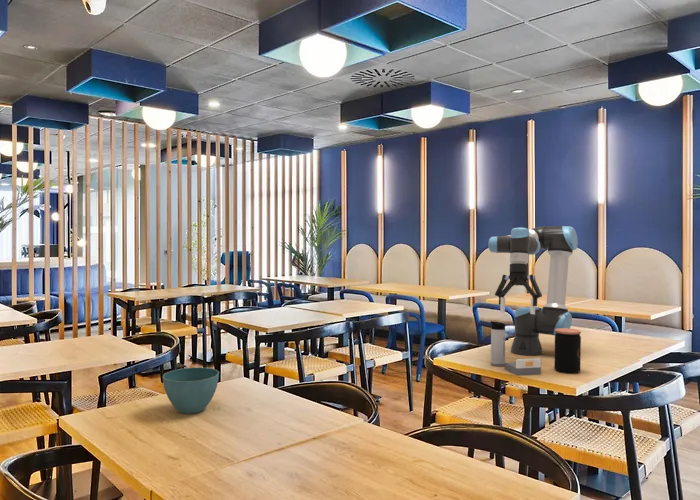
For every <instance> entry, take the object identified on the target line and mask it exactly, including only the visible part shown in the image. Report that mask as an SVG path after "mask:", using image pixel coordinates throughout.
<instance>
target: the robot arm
mask: <svg viewBox="0 0 700 500" xmlns="http://www.w3.org/2000/svg"><path fill="white" fill-rule="evenodd" d="M578 242H579V240H578V234H577V232H576V230H575V228H574V227H572V226H566V225H561V226H560V225H555V226H554V225H553V226H543V225H542V226H538V227H533V228H527V227H514V228H512V229H511V230H510V234H508V235H502V236H501V235H500V236H491V237H490V238H489V239H488V242H487V243H488V250H489V252H490V253H496V254H497V253H499V254H501V253H503V254H509V255H510V256H509V263H510V264H509V275H507V274H502V276H501V280H500V283H499V285H498V287H497V289H496V290H495V293H494V296H495V297H498V305H500V306H499V307H500V309H499V310H500V311H499V313H501V314H502V313H503V314H505V312H506V297H505V296H506V295H507V294H508V292H509V291H510V290H511V289H512V288H513V287H514V286H523V287H524V288H525V289H526V291H527V292H528V294H529V295H530V296H531V297H532V298H530V306H523V307H517V308H516V309H515V311H514V338H513V340H512V343H511V347H510V352H511V353H513V354H515V355H520V356H521V355H522V356H541V355H543V347H542V344H541V341H540V338H539V337H540V335H541V334H542V335H549V336H554V337H555V334H556V332H555V329H558V328H570V329H571V326H572V324H573V323H572V321H573V318H572V314H571V313H570V312H569V308H568V307H567V306H566V300H567V299H566V296H567V283H568V273H569V272H568V271H569V261H570V260H569V259H570V257H571V256H573V252H574V251H575V250H577V249H578V245H579V243H578ZM540 250H547V253H548V254H549V257H550V258H549V270H548V283H547V294H546V303H545V304H544V305H543V306H542V309H540V307H539V306H538V299H539V298H542V297H543V294H542V291H541V290H540V288H539V286H538V283H537V281H536V275H534V274H528V272H529V265H528V264H529V256H530V255H532V256H533V255H536V254H538V253H539V252H540ZM528 280H529V281H530V283H531V285H532V287H531V286H530V284H529V282H528ZM507 282H508V283H507Z"/></svg>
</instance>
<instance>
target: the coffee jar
mask: <svg viewBox="0 0 700 500" xmlns="http://www.w3.org/2000/svg"><path fill="white" fill-rule="evenodd" d="M555 332H556V334H555V336H554V362H553V363H554V366H553V367H554V369H555V371H556V372H557V373H558V372H559V373H561V374H568V375H571V374H572V375H574V374H575V375H576V374H578V373H580V371H581V353H582V351H581V350H582V349H581V348H582V347H581V345H582V337H581V333H582V331H581V330H580V329H577V328H571V327H570V328H558V329H555Z"/></svg>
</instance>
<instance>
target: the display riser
mask: <svg viewBox="0 0 700 500" xmlns="http://www.w3.org/2000/svg"><path fill="white" fill-rule="evenodd" d="M504 370H505V371H507V370H508V371H507V372H510V373H511V374H513V375H516V376H518V377H519V376H534V375H536V376H537V375H542V358H540V357H537V358H520V359H515V361H510V362H509V361H508V362H506V361H505V366H504Z"/></svg>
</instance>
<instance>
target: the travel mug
mask: <svg viewBox="0 0 700 500" xmlns="http://www.w3.org/2000/svg"><path fill="white" fill-rule="evenodd" d="M490 324H491V325H490V327H491V328H490V365H491V366H493V367H498V366H499V368H500V366H501V367H505V363H506V323H504V322H500V321H493V320H492V321H491V320H490Z"/></svg>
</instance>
